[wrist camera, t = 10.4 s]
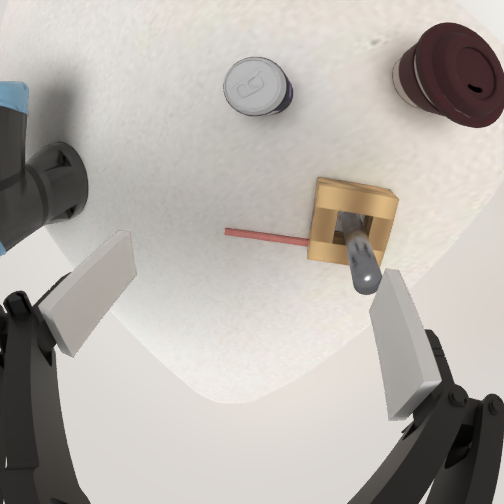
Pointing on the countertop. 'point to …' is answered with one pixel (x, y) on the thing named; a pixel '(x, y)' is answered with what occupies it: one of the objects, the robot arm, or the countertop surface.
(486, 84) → the coffee cup
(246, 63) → the beverage can
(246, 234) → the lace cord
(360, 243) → the grey capsule rod
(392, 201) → the wooden square frame
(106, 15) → the countertop surface
